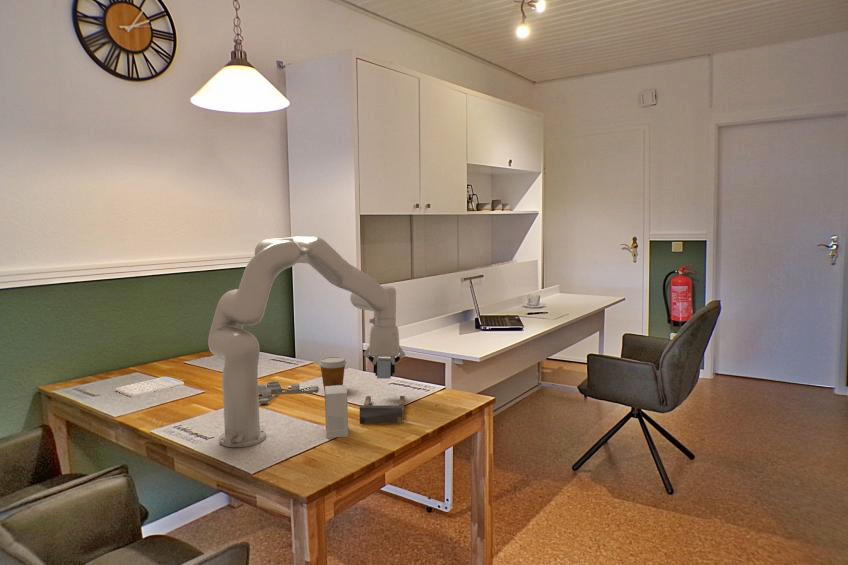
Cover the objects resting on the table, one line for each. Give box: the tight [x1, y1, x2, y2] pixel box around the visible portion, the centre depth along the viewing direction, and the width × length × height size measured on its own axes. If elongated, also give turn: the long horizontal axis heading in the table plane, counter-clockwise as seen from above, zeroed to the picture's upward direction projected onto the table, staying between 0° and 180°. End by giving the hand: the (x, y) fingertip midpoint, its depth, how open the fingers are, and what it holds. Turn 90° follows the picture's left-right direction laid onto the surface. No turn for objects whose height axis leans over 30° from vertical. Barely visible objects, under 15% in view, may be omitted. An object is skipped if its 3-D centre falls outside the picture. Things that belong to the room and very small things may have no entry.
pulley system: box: [258, 381, 319, 405], centre depth 207 cm, size 27×5×15 cm
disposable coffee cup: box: [318, 356, 347, 393], centre depth 209 cm, size 10×10×12 cm
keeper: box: [376, 357, 392, 379], centre depth 200 cm, size 4×4×6 cm
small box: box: [324, 384, 349, 439], centre depth 170 cm, size 8×6×13 cm
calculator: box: [115, 376, 185, 397], centre depth 216 cm, size 13×20×2 cm, turn 141°
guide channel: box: [359, 395, 406, 425], centre depth 188 cm, size 21×13×5 cm, turn 0°
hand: (384, 374), depth 201 cm, fingers closed on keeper, 4 cm apart
